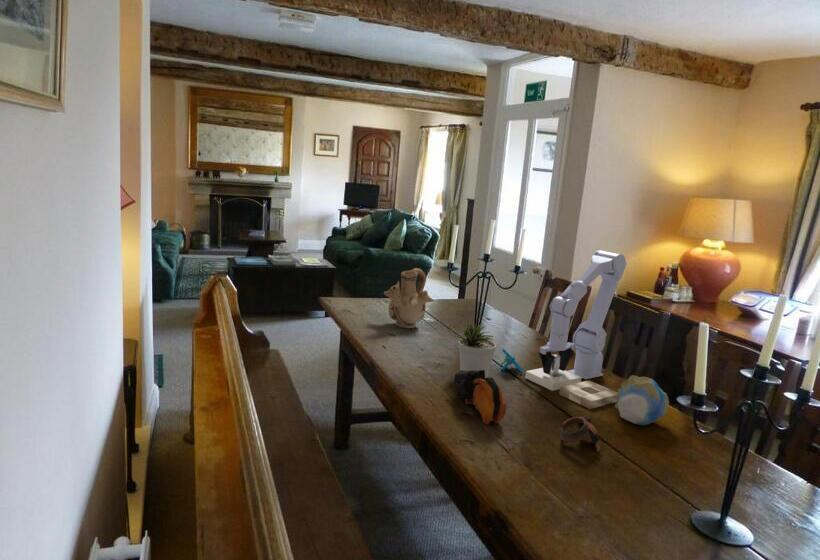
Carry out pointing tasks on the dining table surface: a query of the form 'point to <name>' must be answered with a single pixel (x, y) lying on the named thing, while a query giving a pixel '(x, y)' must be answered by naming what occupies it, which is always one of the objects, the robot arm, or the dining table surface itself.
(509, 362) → the blue irregular piece
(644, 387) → the decorative rock
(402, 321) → the ceramic vessel
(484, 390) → the tool
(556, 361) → the steel peg
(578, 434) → the pottery mug
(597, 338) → the robot arm
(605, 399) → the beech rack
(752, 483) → the dining table surface
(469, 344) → the potted plant
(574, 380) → the socket block
